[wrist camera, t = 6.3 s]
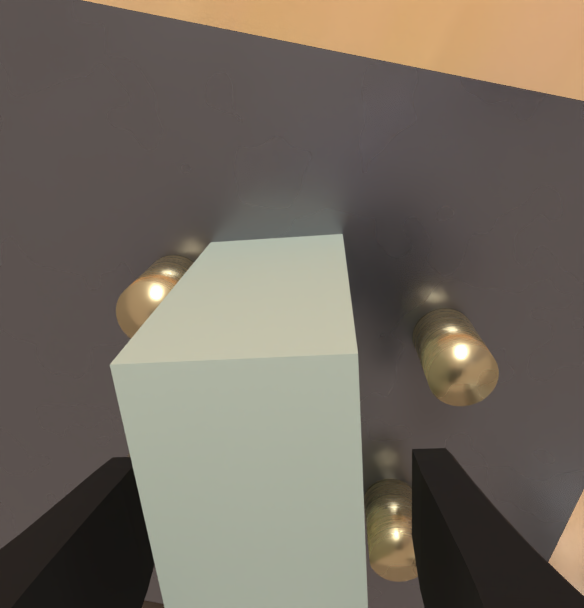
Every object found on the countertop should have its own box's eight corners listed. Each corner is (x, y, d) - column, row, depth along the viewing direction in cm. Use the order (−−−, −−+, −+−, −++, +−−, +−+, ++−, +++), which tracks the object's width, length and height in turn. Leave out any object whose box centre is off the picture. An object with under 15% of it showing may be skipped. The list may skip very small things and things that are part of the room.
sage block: (342, 234, 12) (357, 353, 6) (355, 517, 15) (374, 775, 9) (210, 242, 12) (110, 364, 6) (248, 518, 15) (201, 772, 9)
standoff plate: (721, 133, 11) (849, 142, 9) (487, 636, 17) (519, 739, 14) (-5, -13, 11) (-114, -51, 8) (6, 545, 17) (-57, 632, 14)
